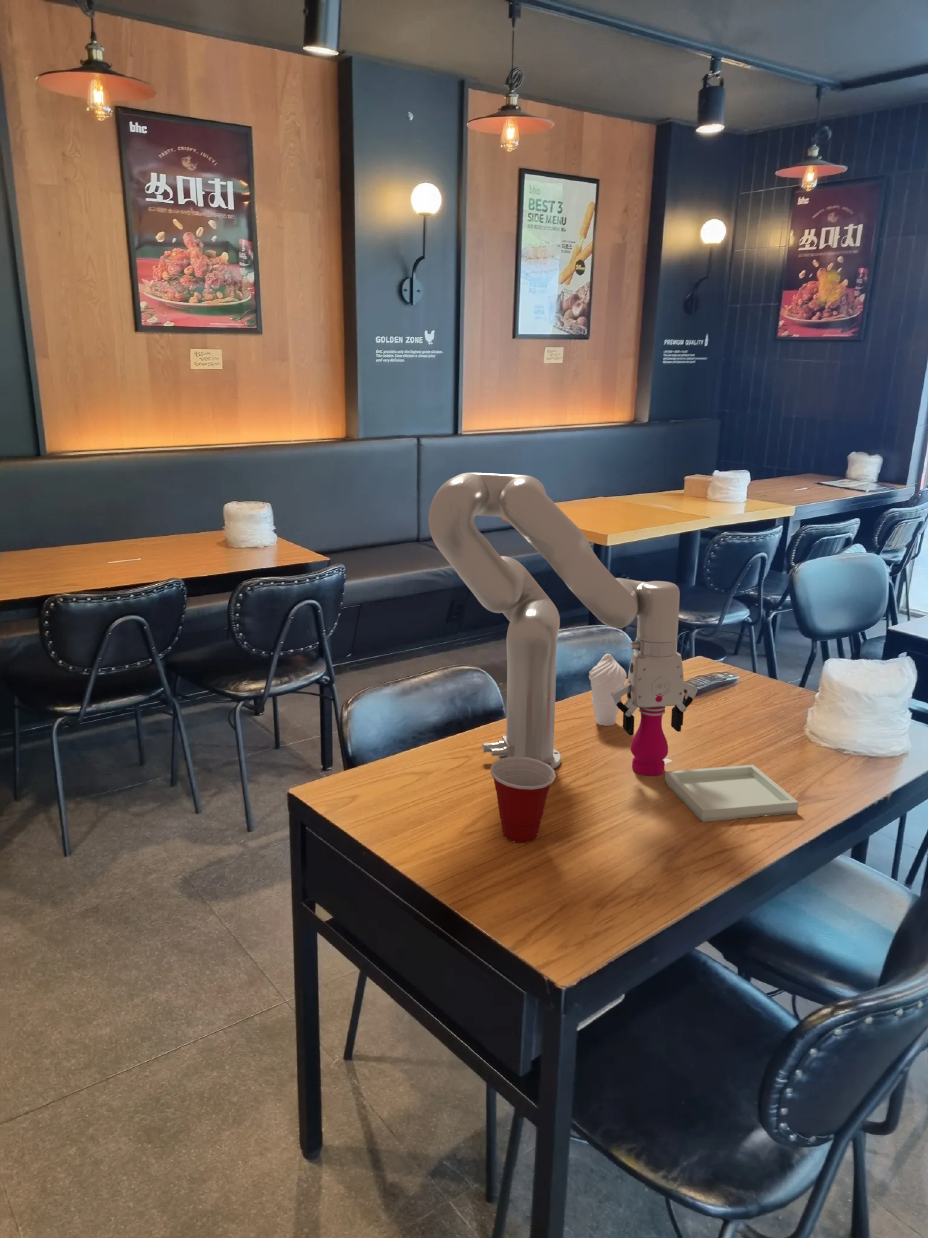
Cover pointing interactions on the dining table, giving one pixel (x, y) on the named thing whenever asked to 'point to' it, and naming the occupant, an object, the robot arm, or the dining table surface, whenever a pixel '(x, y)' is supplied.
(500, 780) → the plastic cup
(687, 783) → the tray
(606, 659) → the soft serve ice cream cone
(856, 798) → the dining table surface
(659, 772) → the pepper mill
